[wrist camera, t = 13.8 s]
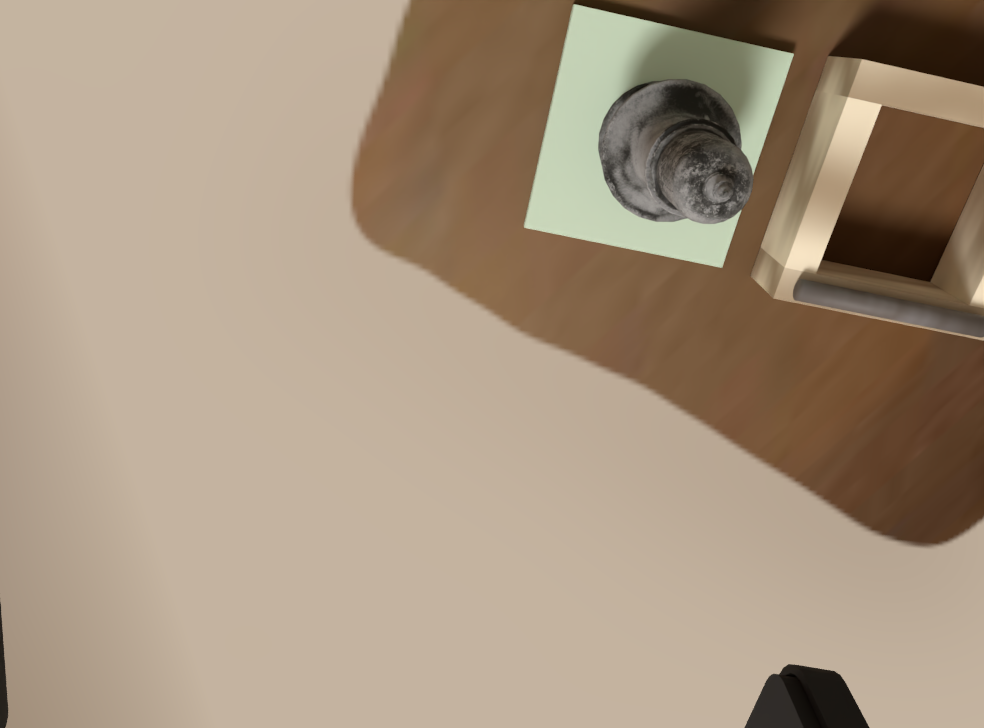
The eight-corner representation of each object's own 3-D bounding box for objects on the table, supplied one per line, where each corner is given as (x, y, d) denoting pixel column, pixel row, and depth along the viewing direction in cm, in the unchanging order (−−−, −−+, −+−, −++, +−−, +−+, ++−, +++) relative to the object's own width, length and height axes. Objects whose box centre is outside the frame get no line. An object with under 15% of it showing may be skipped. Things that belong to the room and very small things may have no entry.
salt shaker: (615, 223, 37) (665, 307, 26) (573, 105, 35) (608, 142, 24) (734, 176, 36) (837, 242, 25) (698, 51, 34) (795, 65, 23)
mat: (573, 4, 34) (574, 4, 33) (789, 53, 34) (794, 53, 34) (523, 224, 38) (524, 227, 37) (718, 264, 38) (721, 267, 38)
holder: (828, 55, 35) (872, 59, 30) (1044, 104, 35) (1116, 115, 31) (750, 275, 39) (780, 305, 35) (945, 315, 39) (997, 348, 35)
